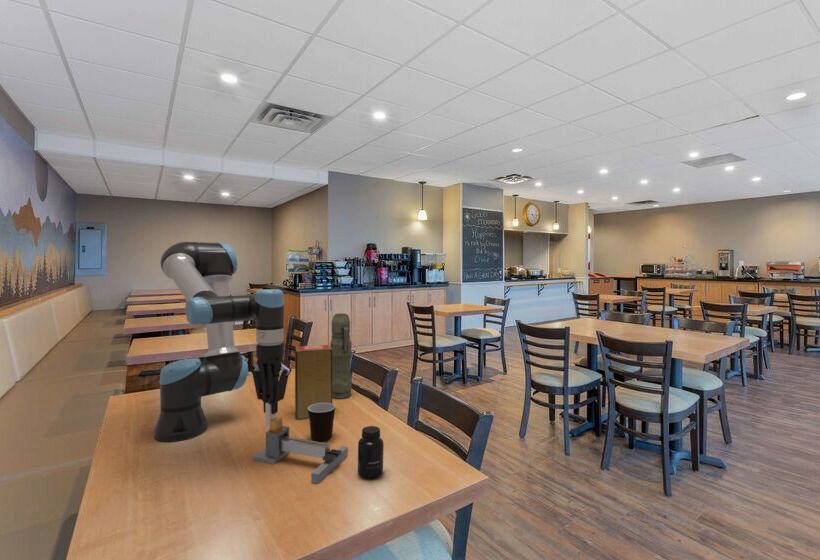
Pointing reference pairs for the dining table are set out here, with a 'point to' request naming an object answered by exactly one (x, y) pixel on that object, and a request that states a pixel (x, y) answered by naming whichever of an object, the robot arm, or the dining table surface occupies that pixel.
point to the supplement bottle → (370, 453)
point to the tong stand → (317, 473)
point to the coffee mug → (321, 421)
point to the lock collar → (275, 437)
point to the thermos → (341, 357)
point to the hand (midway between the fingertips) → (270, 424)
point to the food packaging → (312, 377)
